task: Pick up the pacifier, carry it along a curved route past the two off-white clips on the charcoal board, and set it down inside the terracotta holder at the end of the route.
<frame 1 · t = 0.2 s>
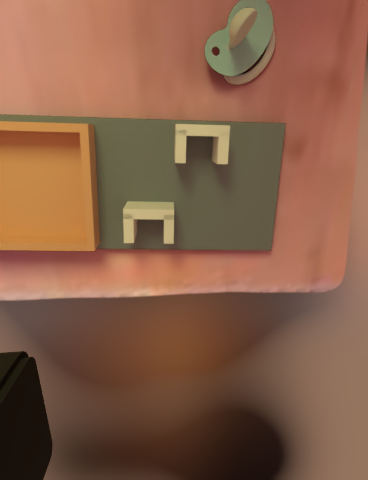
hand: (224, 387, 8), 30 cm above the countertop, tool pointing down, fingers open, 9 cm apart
route board: (128, 185, 37), on the countertop
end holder: (41, 184, 36), resting on route board
pacifier: (240, 49, 34), on the countertop
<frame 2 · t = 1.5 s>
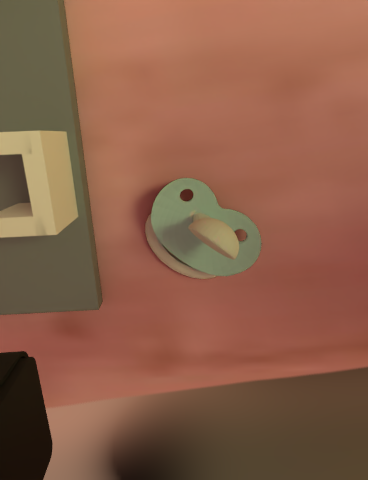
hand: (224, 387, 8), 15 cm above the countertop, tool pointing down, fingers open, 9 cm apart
pacifier: (195, 230, 23), on the countertop
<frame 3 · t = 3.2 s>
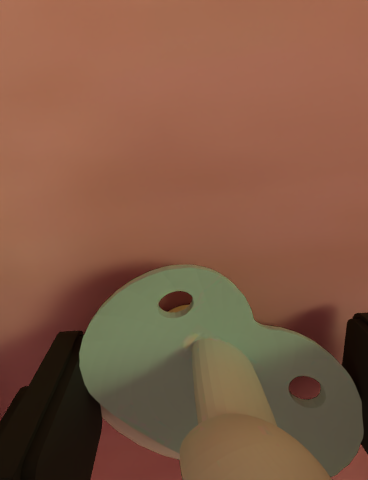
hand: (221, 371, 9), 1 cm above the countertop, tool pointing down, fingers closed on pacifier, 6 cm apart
pacifier: (196, 358, 10), on the countertop, touching gripper
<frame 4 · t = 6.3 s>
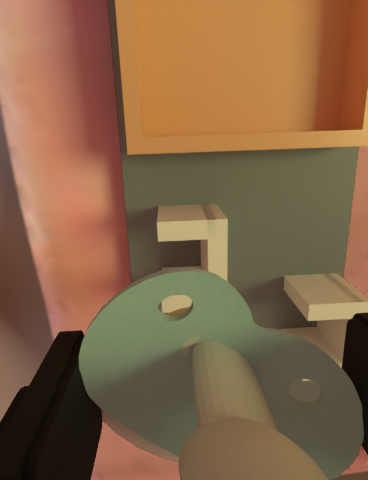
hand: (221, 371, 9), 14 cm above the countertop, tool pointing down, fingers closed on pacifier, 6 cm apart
route board: (236, 199, 21), on the countertop
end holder: (238, 31, 19), resting on route board
pacifier: (196, 361, 10), point 13 cm above the countertop, touching gripper
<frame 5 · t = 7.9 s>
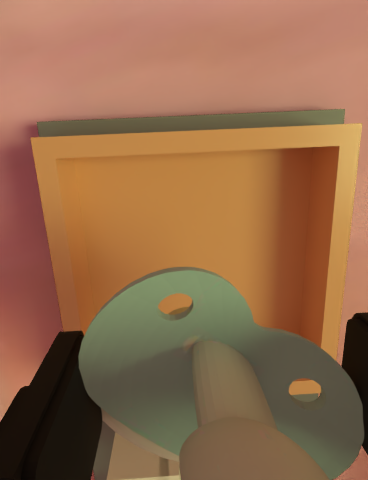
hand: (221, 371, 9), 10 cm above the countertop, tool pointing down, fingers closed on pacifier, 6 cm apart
route board: (200, 394, 21), on the countertop
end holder: (195, 252, 18), resting on route board
pacifier: (196, 360, 10), point 9 cm above the countertop, touching gripper
when the fingers open (4 cm above the countertop, at t = 9.4 s): pacifier drops 1 cm, resting on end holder.
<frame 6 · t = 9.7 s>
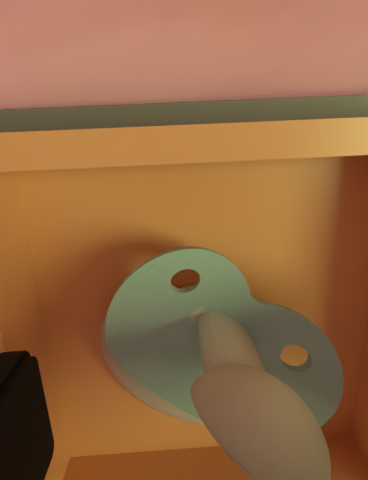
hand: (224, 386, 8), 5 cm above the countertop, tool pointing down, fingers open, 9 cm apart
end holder: (204, 301, 13), resting on route board
pacifier: (200, 333, 12), point 1 cm above the countertop, touching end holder
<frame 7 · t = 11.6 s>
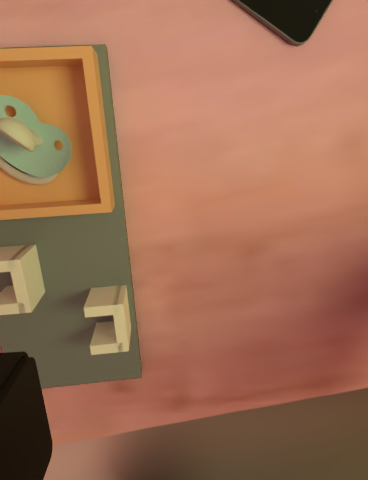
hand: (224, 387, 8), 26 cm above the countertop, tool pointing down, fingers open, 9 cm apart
route board: (55, 239, 33), on the countertop
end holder: (37, 138, 30), resting on route board
pacifier: (30, 145, 29), point 1 cm above the countertop, touching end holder
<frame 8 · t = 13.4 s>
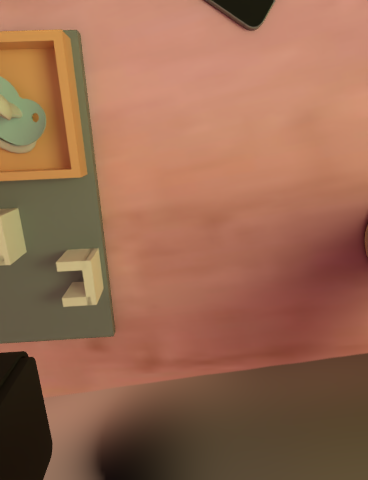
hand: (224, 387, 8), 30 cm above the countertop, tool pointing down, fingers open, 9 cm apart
route board: (36, 205, 37), on the countertop
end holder: (20, 113, 34), resting on route board
pacifier: (12, 119, 33), point 1 cm above the countertop, touching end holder
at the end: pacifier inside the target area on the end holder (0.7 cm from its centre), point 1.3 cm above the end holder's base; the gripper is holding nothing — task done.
